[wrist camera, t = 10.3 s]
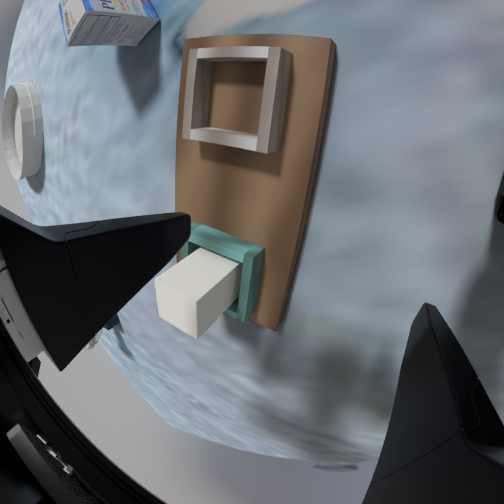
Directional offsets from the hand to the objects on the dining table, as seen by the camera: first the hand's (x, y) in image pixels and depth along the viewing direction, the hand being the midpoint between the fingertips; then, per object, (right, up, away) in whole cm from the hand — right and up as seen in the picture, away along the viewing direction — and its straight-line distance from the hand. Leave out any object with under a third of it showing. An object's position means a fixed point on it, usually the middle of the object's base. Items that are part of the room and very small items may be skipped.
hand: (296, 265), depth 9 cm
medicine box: (-13, +26, +10) cm, 31 cm away
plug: (-4, -1, +17) cm, 17 cm away
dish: (-50, +28, +32) cm, 65 cm away
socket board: (-2, +6, +14) cm, 15 cm away
